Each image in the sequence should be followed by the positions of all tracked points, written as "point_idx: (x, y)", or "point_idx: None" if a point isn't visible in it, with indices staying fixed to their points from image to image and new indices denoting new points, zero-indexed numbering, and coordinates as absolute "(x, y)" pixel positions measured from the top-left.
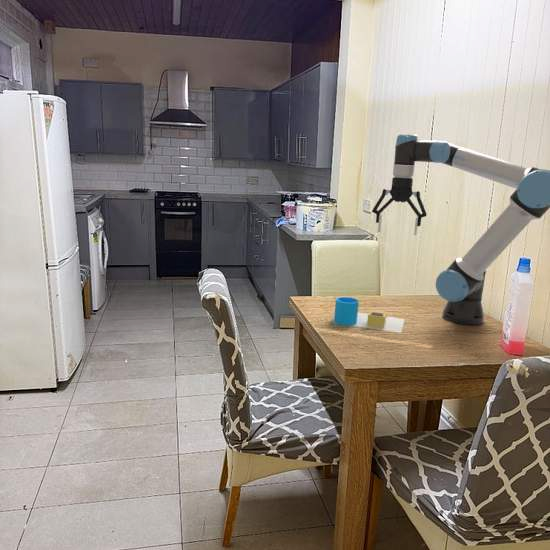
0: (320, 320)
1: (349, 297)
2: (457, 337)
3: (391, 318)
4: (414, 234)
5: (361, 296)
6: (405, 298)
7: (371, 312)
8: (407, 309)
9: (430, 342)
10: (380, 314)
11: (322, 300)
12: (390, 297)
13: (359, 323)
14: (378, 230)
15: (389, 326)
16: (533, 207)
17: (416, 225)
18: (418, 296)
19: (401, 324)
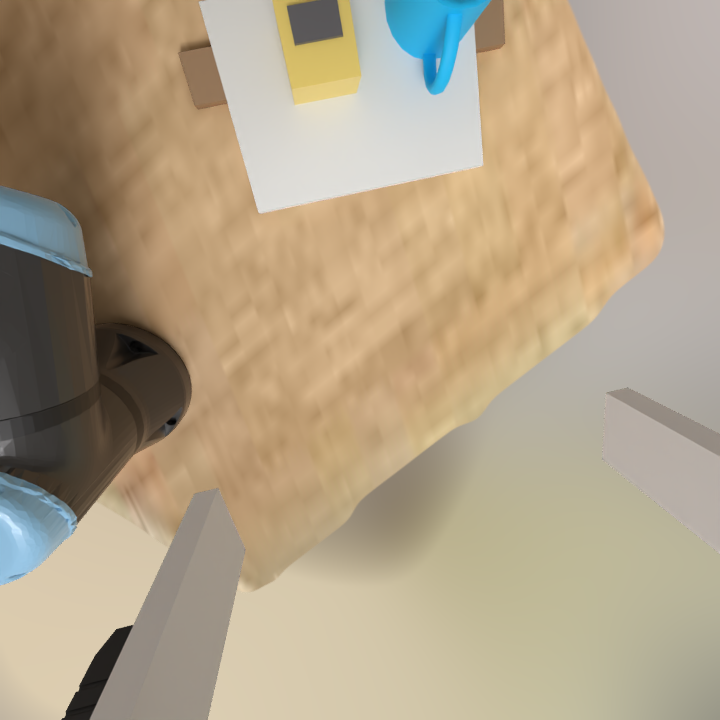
0: (521, 9)
1: (468, 6)
2: (37, 154)
3: (299, 186)
4: (209, 493)
5: (471, 407)
6: (351, 476)
7: (346, 39)
8: (305, 369)
9: (81, 6)
10: (299, 15)
11: (571, 278)
12: (392, 456)
13: (376, 22)
14: (634, 395)
15: (268, 66)
16: None
17: (149, 612)
18: (326, 519)
19: (241, 129)
